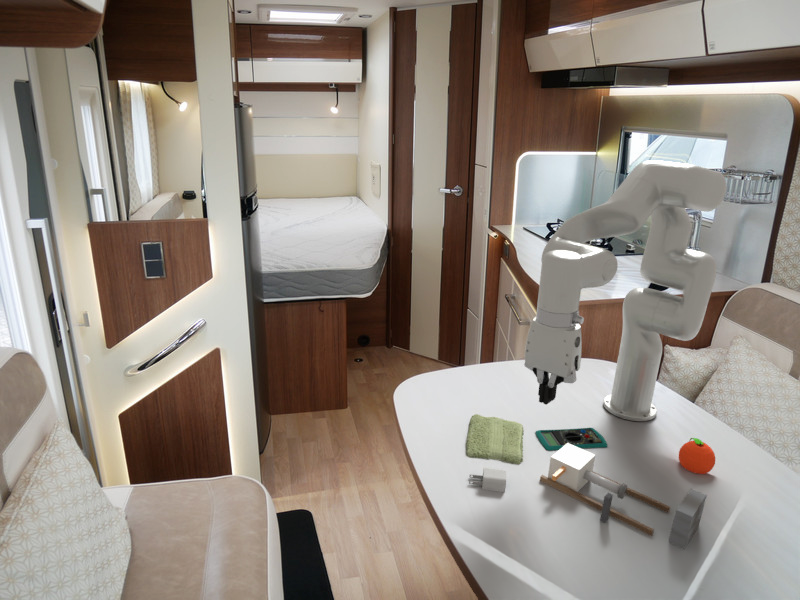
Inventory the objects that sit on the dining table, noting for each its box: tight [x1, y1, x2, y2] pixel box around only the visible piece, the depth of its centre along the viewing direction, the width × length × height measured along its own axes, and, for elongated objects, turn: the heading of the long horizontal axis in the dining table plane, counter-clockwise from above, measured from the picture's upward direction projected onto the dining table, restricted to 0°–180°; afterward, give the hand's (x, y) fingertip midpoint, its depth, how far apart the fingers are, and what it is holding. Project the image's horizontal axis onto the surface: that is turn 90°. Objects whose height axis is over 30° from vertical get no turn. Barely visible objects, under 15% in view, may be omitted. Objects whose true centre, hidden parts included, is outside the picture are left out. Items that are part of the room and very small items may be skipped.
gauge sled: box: [547, 443, 628, 500], centre depth 113 cm, size 11×14×6 cm
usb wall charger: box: [468, 467, 507, 493], centre depth 116 cm, size 4×7×4 cm, turn 82°
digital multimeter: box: [534, 427, 609, 452], centre depth 132 cm, size 7×15×3 cm, turn 99°
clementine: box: [678, 437, 716, 475], centre depth 124 cm, size 8×7×7 cm
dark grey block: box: [599, 492, 614, 523], centre depth 106 cm, size 2×1×5 cm, turn 138°
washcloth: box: [465, 413, 525, 465], centre depth 131 cm, size 13×18×3 cm
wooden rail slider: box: [539, 471, 708, 550], centre depth 111 cm, size 14×30×8 cm, turn 48°
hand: (546, 400), depth 118 cm, fingers closed
